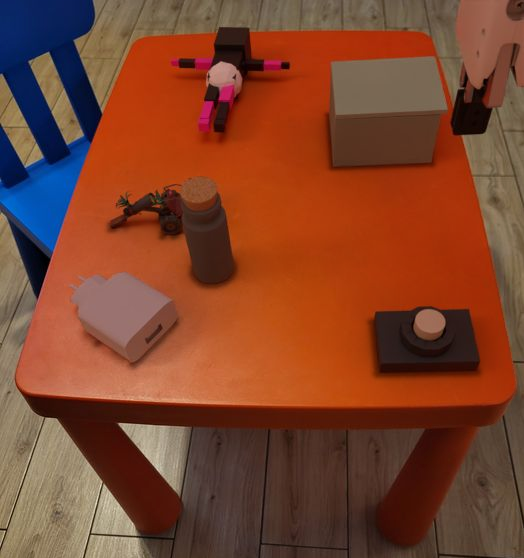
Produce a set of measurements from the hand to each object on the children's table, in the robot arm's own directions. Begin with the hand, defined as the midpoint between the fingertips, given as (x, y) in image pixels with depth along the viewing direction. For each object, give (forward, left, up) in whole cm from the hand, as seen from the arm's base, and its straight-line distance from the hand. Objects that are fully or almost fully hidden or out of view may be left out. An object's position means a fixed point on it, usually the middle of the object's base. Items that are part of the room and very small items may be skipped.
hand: (467, 129), depth 60 cm
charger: (+42, +2, -27) cm, 50 cm away
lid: (+3, -34, -18) cm, 38 cm away
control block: (+1, +8, -27) cm, 28 cm away
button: (+1, +8, -23) cm, 25 cm away
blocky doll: (+29, -46, -27) cm, 61 cm away
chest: (+3, -34, -27) cm, 43 cm away
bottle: (+29, -6, -27) cm, 40 cm away
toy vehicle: (+38, -16, -27) cm, 50 cm away
